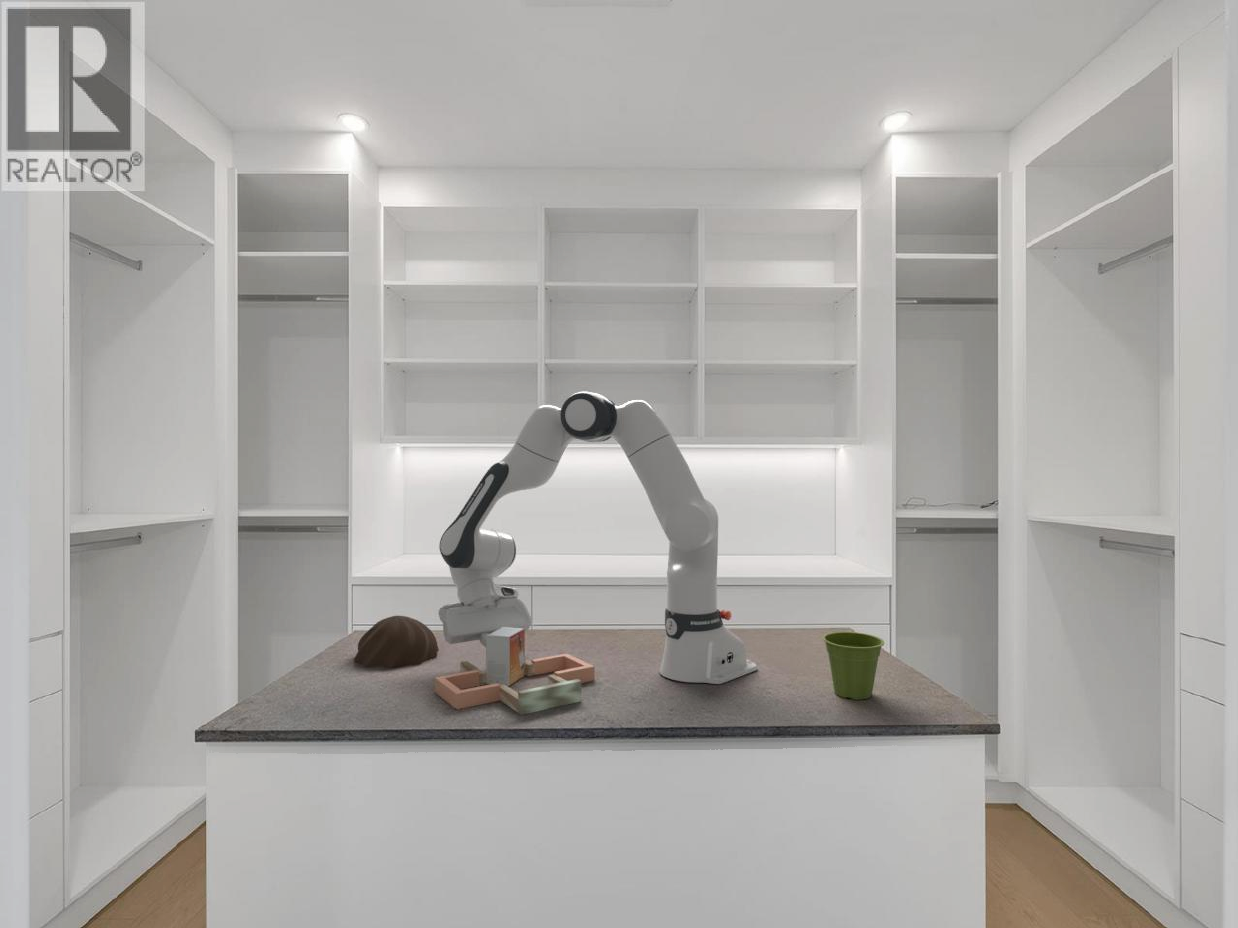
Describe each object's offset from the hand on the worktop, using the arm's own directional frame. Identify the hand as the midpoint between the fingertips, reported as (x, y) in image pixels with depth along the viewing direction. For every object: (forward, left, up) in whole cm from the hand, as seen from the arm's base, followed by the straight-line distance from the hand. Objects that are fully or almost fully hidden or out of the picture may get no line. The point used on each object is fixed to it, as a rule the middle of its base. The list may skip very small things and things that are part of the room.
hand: (497, 652), depth 155 cm
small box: (0, +5, -5) cm, 7 cm away
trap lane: (0, +10, -5) cm, 11 cm away
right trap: (-10, +10, -5) cm, 15 cm away
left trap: (+10, +10, -5) cm, 15 cm away
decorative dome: (+14, -26, -5) cm, 30 cm away
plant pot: (-54, +53, -5) cm, 76 cm away
